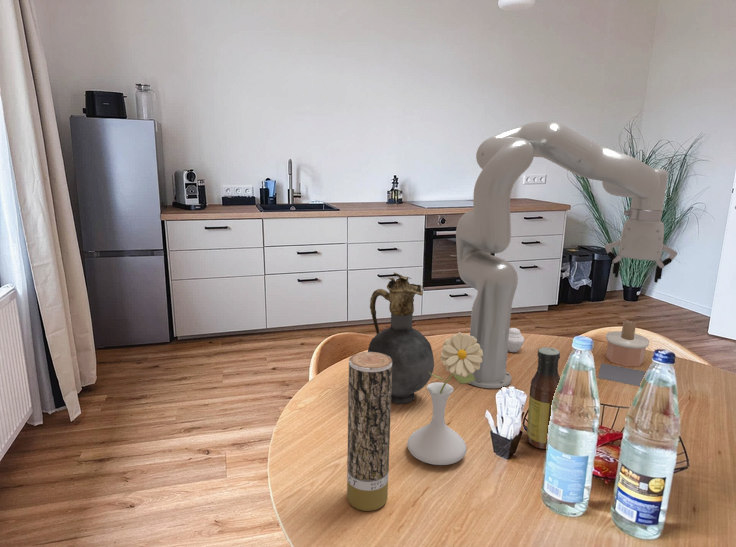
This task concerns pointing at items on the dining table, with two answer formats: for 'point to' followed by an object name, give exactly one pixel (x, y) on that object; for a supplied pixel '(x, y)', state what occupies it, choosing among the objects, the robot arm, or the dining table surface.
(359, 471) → the paper tube
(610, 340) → the lid
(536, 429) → the sauce bottle
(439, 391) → the flower in vase
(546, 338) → the dining table surface
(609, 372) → the mat
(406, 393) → the pitcher
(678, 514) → the dining table surface
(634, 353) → the bowl
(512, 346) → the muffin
